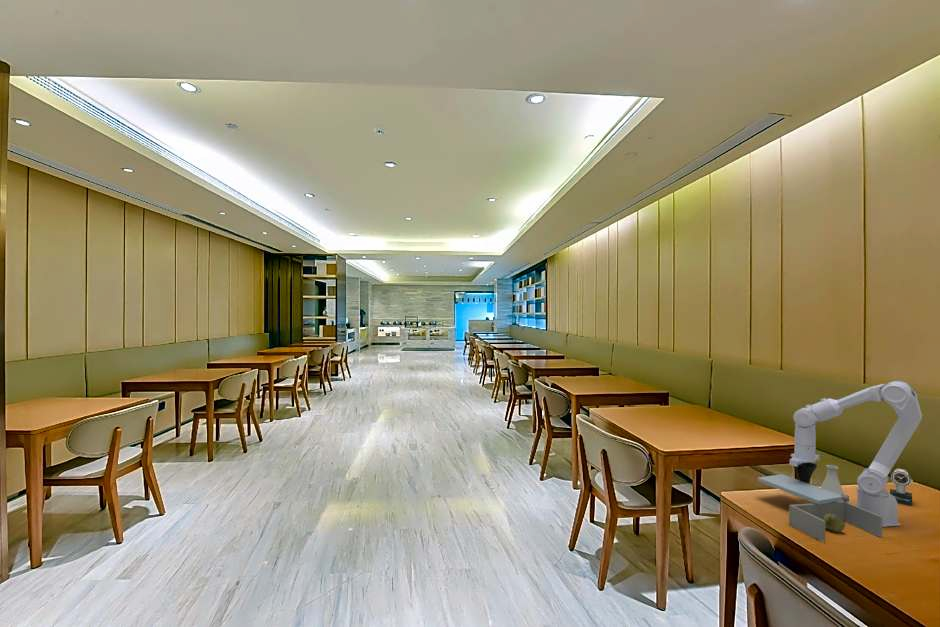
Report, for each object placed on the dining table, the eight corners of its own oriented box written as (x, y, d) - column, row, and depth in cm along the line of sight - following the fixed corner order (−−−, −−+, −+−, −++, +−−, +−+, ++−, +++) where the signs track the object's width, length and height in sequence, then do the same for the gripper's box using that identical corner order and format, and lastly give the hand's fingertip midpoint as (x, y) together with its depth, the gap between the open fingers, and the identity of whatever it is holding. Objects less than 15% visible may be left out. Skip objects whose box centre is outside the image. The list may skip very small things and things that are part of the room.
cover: (850, 501, 138) (850, 496, 138) (822, 506, 135) (822, 501, 135) (784, 477, 158) (784, 473, 158) (757, 481, 154) (757, 477, 154)
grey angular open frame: (844, 520, 139) (844, 501, 139) (882, 537, 128) (882, 516, 128) (789, 524, 136) (789, 504, 136) (822, 542, 125) (823, 521, 125)
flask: (849, 499, 155) (850, 470, 156) (826, 497, 157) (826, 468, 157) (837, 491, 163) (837, 463, 163) (814, 489, 164) (815, 462, 164)
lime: (821, 526, 135) (821, 509, 135) (841, 529, 133) (841, 512, 133) (826, 533, 131) (826, 515, 131) (847, 536, 129) (847, 518, 129)
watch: (889, 502, 153) (889, 470, 153) (890, 496, 159) (890, 465, 159) (912, 507, 149) (912, 474, 149) (912, 500, 155) (912, 469, 155)
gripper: (803, 438, 159) (802, 477, 159) (780, 443, 152) (779, 483, 152) (826, 443, 152) (826, 483, 152) (803, 449, 146) (802, 491, 146)
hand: (804, 484), depth 152 cm, fingers closed
